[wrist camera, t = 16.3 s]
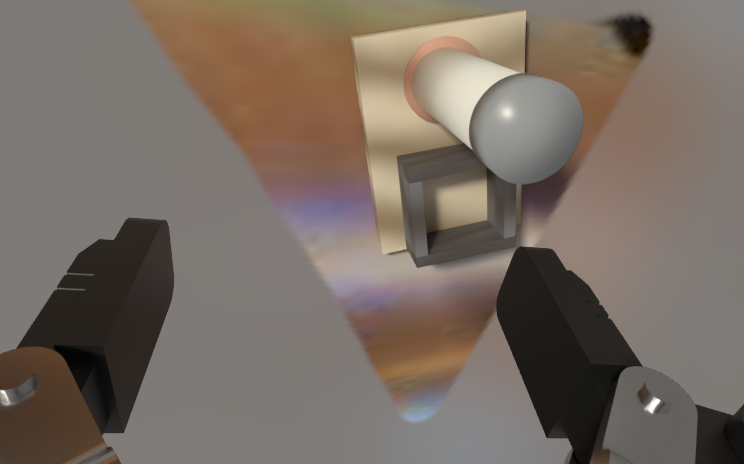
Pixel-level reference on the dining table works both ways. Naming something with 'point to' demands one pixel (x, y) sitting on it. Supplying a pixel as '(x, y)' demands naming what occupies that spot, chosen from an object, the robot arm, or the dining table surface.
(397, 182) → the socket board
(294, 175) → the dining table surface
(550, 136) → the cylinder
